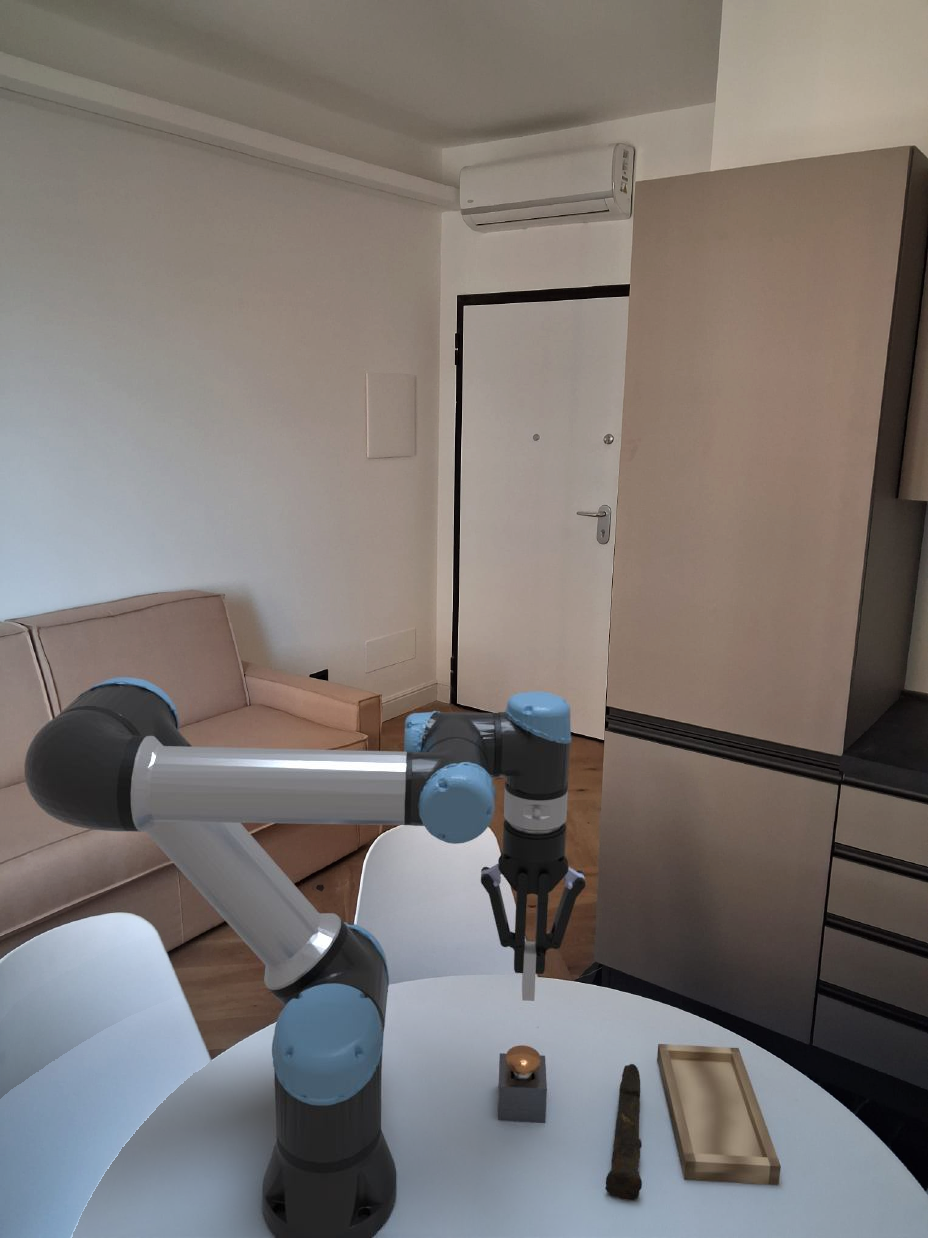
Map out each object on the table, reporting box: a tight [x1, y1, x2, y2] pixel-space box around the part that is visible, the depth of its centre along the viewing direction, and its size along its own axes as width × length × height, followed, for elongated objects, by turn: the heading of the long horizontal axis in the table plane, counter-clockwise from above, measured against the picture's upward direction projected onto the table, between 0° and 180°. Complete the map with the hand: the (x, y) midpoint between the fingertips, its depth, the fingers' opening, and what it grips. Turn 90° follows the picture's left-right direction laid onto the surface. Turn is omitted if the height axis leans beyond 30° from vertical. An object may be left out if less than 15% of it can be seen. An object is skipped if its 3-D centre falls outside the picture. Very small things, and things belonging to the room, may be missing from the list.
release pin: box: [505, 1044, 541, 1080], centre depth 116 cm, size 4×4×7 cm
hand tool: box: [604, 1063, 643, 1201], centre depth 112 cm, size 19×4×5 cm, turn 165°
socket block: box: [497, 1052, 548, 1124], centre depth 117 cm, size 6×6×5 cm
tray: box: [656, 1043, 782, 1186], centre depth 115 cm, size 11×20×3 cm, turn 177°
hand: (528, 993), depth 113 cm, fingers closed
